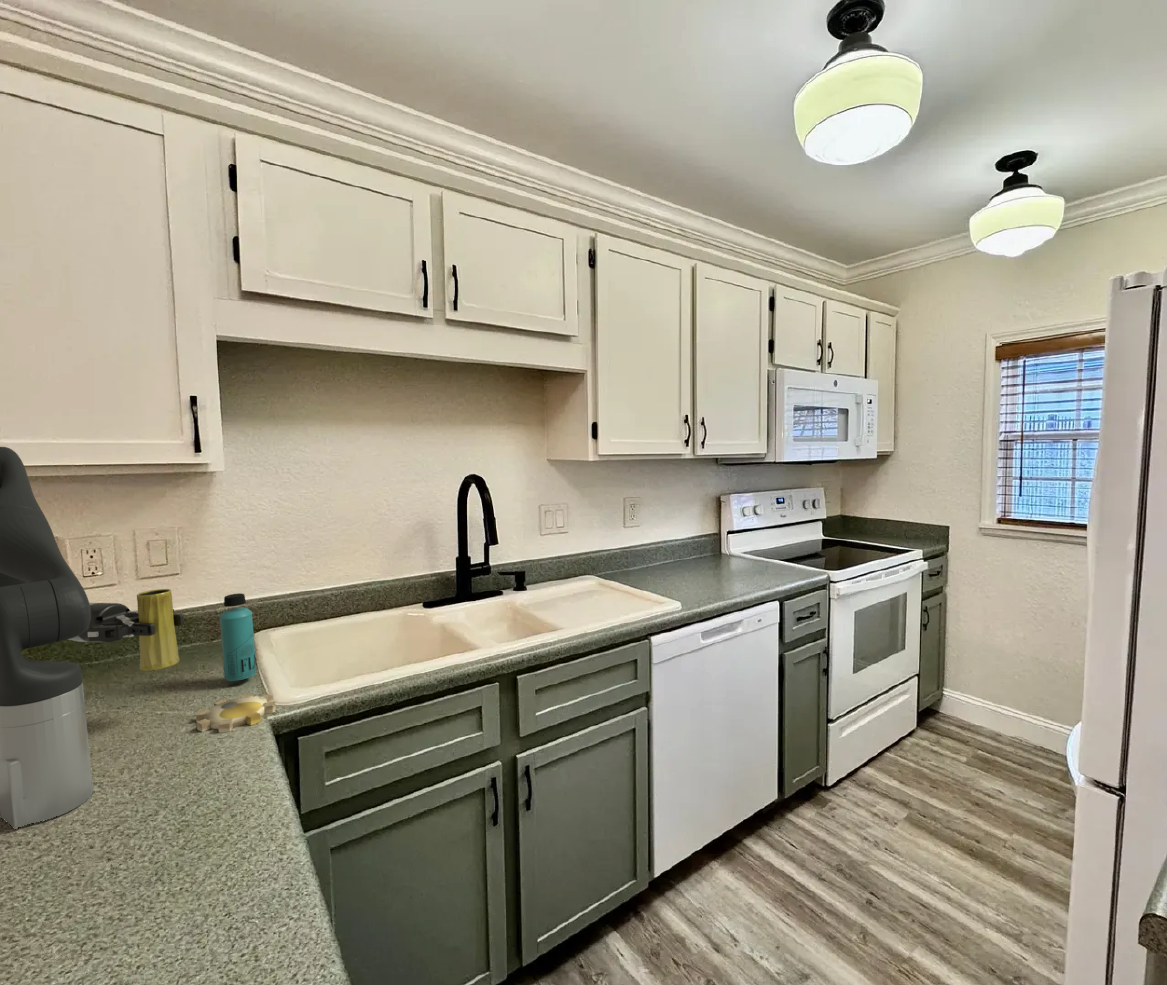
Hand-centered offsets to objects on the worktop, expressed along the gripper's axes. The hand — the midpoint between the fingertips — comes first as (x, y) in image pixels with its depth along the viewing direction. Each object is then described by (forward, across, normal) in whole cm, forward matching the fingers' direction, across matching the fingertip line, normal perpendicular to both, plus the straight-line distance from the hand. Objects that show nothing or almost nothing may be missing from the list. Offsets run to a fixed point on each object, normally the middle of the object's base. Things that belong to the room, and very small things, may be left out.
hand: (167, 624), depth 105 cm
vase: (-3, 0, +8) cm, 9 cm away
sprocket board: (+11, +3, +19) cm, 22 cm away
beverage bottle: (-2, +18, +19) cm, 26 cm away
